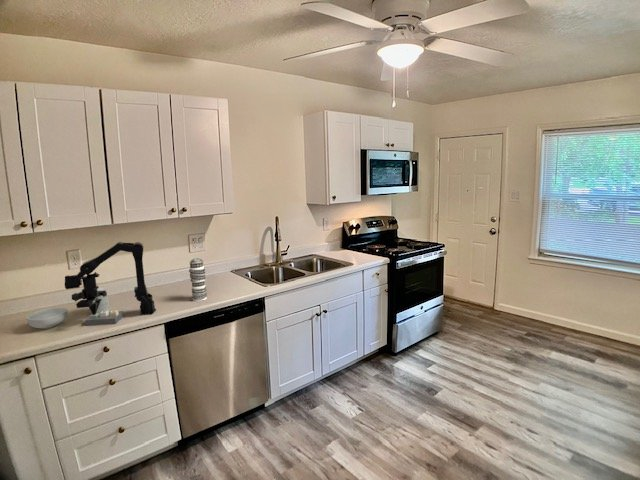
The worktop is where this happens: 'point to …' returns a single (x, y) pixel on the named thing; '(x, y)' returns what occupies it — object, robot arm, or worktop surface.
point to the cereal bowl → (47, 317)
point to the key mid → (104, 313)
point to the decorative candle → (198, 279)
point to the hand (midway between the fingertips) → (94, 314)
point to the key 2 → (114, 313)
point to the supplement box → (103, 302)
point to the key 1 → (94, 315)
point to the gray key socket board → (104, 319)
